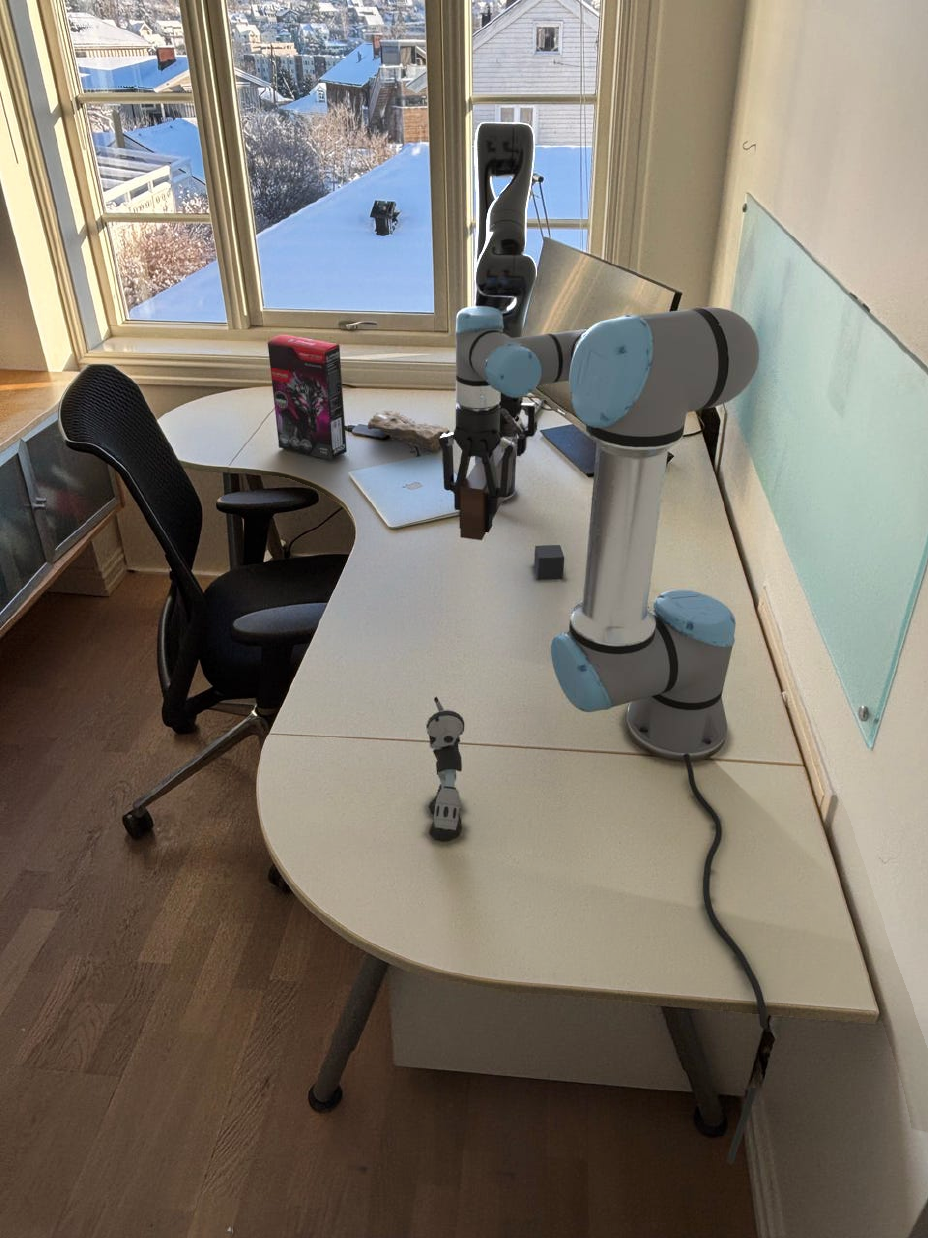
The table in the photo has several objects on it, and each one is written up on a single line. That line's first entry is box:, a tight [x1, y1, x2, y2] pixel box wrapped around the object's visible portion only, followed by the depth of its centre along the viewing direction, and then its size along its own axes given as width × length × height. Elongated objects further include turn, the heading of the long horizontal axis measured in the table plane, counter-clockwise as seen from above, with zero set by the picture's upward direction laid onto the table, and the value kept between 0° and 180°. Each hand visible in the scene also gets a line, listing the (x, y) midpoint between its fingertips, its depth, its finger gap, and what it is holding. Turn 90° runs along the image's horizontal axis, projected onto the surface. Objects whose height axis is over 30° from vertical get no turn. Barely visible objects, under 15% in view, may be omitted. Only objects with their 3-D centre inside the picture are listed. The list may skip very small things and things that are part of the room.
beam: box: [459, 436, 513, 541], centre depth 172 cm, size 24×4×10 cm, turn 165°
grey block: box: [533, 544, 565, 581], centre depth 181 cm, size 5×5×5 cm
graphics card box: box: [267, 333, 348, 461], centre depth 223 cm, size 17×7×27 cm, turn 62°
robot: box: [425, 696, 465, 842], centre depth 121 cm, size 20×5×20 cm, turn 3°
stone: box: [367, 410, 451, 451], centre depth 235 cm, size 21×15×6 cm
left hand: (497, 452), depth 177 cm, fingers open, 8 cm apart
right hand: (476, 526), depth 167 cm, fingers closed on beam, 4 cm apart
